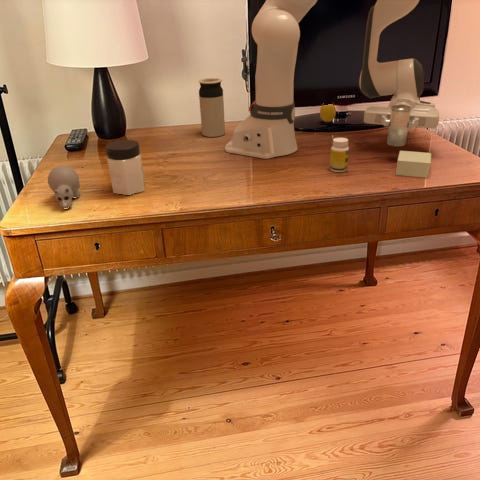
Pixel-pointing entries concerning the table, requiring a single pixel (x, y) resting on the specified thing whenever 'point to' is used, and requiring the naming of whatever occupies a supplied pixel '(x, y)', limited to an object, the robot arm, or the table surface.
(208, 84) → the travel mug
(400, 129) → the clear glass canister
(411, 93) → the robot arm
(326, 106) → the lemon
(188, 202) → the table surface
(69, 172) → the round bodied animal figurine
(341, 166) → the supplement bottle
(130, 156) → the jar
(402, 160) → the block
